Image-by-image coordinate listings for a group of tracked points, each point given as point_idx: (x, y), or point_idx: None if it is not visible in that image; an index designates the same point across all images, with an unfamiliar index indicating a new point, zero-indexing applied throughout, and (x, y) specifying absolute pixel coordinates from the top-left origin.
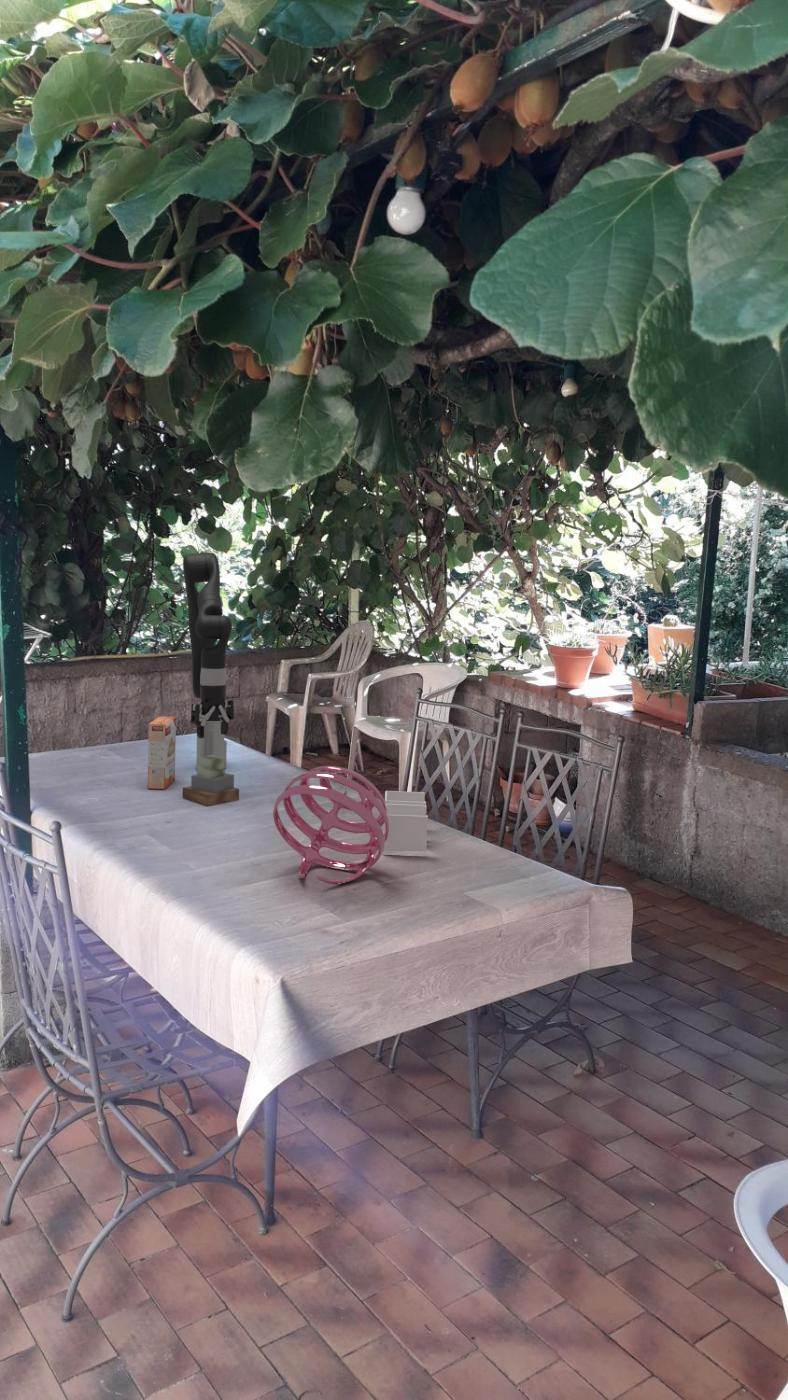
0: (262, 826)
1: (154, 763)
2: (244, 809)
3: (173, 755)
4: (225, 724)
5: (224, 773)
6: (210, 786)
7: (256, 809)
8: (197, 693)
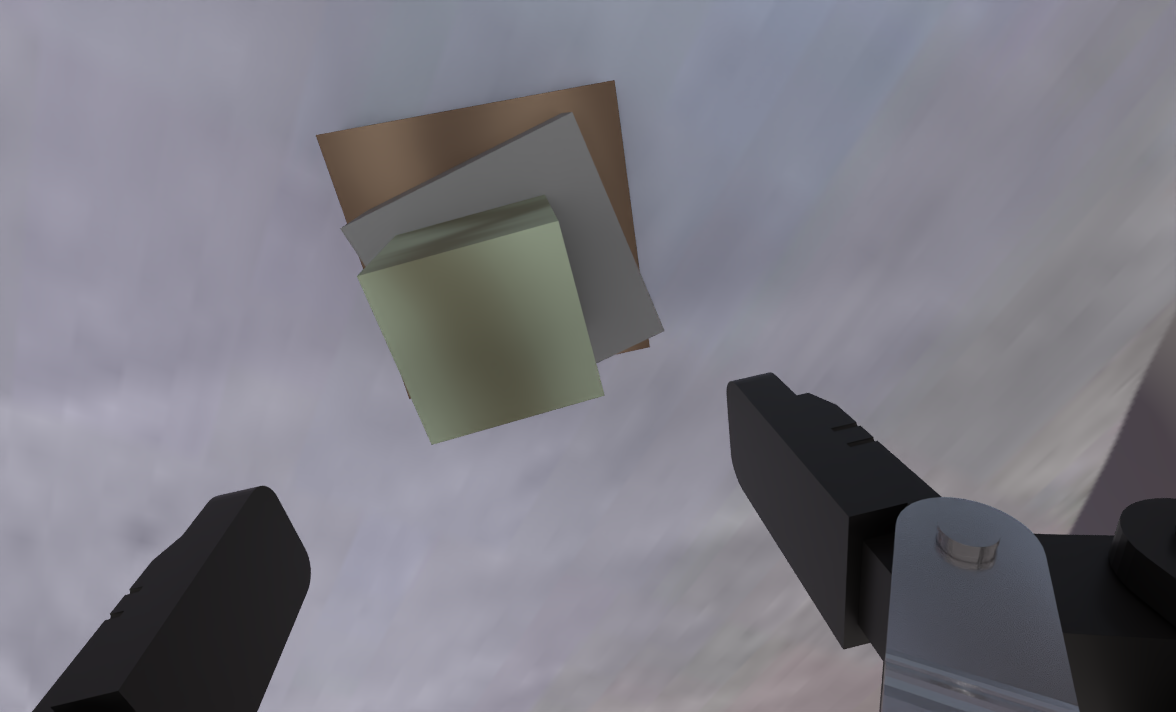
0: (516, 680)
1: None
2: (570, 478)
3: None
4: (825, 618)
5: (624, 267)
6: None
7: (618, 495)
8: None
